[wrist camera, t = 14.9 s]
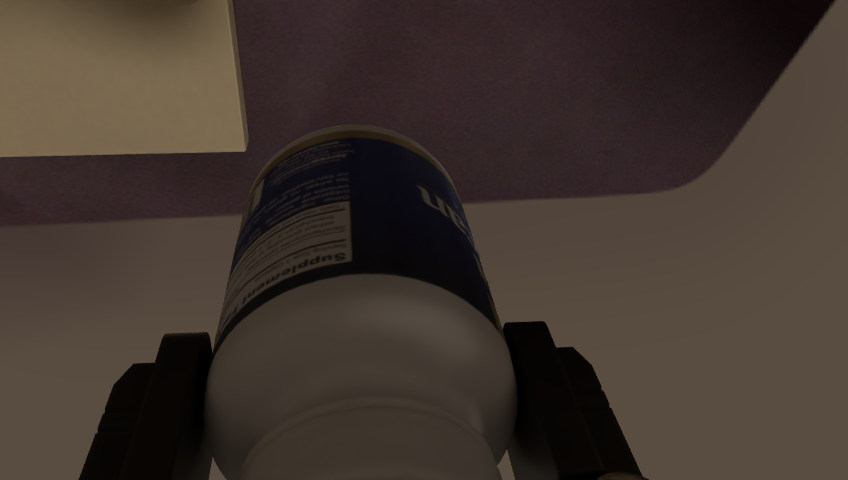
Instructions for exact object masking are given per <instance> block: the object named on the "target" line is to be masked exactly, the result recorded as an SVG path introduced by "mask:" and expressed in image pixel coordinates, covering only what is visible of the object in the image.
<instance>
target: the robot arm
mask: <svg viewBox="0 0 848 480" xmlns="http://www.w3.org/2000/svg"><path fill="white" fill-rule="evenodd" d="M503 333H504V336H505V339H506V342H507V345H508V347H509V351H510V355H511V360H512V364H513V368H514V372H515V375H516V381H517V389H518V412H517V419H516V423H515V428H514V432H513V435H512V438H511V440H510V443H509V446H508V448H507V450H508V454H509V458H510V462H511V465H512V469H513V473H514V476H515V480H649V479H647V478H645V477H643V476H642V474H641V472H640V470H639V468H638V466H637V463H636V461H635V459H634V457H633V455H632V452H631V450H630V448H629V446H628V444H627V441H626V439H625V437H624V435H623V433H622V430H621V428H620V426H619V424H618V422H617V419H616V417H615V415H614V413H613V411H612V408H610V407H609V402H608V400H607V398H606V395H605V393H604V391H602V390H601V384H600V382H599V380H598V378H597V376H596V373H595V371H594V369H593V367H592V365H591V364H590V363H589V362H588V361H587V360H586V359H585V358H584V357H583V356H582V355H581V354H579V353H578V352H577V351H576V350H575V349H574V348H573V347H560V348H556V346H555V344H554V341H553V339H552V337H551V334H550V332H549V329H548V327H547V325H546V323H545V322H543V321H538V322H537V321H535V322H508V323H505V324H504V327H503ZM211 358H212V348H211V341H210V337H209V334H208V333H207V332H200V333H172V334H165V335H164V336H163V338H162V341H161V344H160V348H159V351H158V354H157V357H156V360H155V363H137V364H133V365H132V366H131V367H130V368H129V369H128V370H127V371H126V372H125V373H124V375H123V376H122V377H121V378H120V379H119V380H118V381H117V382H116V383H115V384H114V386H113V388H112V391H111V393H110V396H109V399H108V402H107V404H106V407H105V413H104V414H103V415H102V418H101V421H100V423H99V426H98V433H96V434H95V437H94V439H93V442H92V445H91V448H90V451H89V453H88V456H87V458H86V461H85V464H84V467H83V469H82V472H81V475H80V477H79V480H209V474H210V468H211V463H212V457H213V456H212V454H211V451H210V449H209V446H208V442H207V438H206V434H205V428H204V418H203V410H204V398H205V391H206V382H207V376H208V370H209V366H210V362H211Z"/></svg>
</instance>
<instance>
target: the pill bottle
mask: <svg viewBox="0 0 848 480" xmlns="http://www.w3.org/2000/svg"><path fill="white" fill-rule="evenodd" d="M517 412H518V389H517V381H516V375H515V372H514V368H513V364H512V360H511V355H510V351H509V347H508V345H507V342H506V339H505V336H504V333H503V329H502V326H501V323H500V320H499V318H498V315H497V312H496V309H495V305H494V302H493V299H492V296H491V293H490V289H489V286H488V282H487V280H486V278H485V274H484V272H483V268H482V265H481V262H480V259H479V255H478V251H477V249H476V247H475V243H474V240H473V237H472V234H471V231H470V228H469V225H468V222H467V219H466V216H465V213H464V210H463V207H462V203H461V201H460V198H459V195H458V193H457V191H456V189H455V186H454V185H453V182H452V181H451V179H450V177H449V175H448V173H447V172H446V171H445V169H444V168H443V167H442V165H441V164H440V163H439V162H438V161H437V159H436V158H435V157H434V156H432V155H431V154H430V153H429V152H428V151H427V150H426V149H425V148H423V147H422V146H421V145H419V144H418V143H417V142H415V141H413V140H411V139H409V138H408V137H406V136H404V135H401V134H399V133H397V132H394V131H391V130H388V129H384V128H381V127H375V126H369V125H339V126H334V127H328V128H324V129H320V130H317V131H315V132H312V133H309V134H307V135H305V136H302V137H300V138H298V139H297V140H295V141H293V142H292V143H290V144H288V145H287V146H285V147H284V148H283V149H281V150H280V151H279V152H278V153H277V154H276V155H275V156H274V157H272V158H271V159H270V160H269V162H268V163H267V164H266V165H265V167H264V168H263V169H262V170H261V172H260V173H259V175H258V177H257V178H256V180H255V182H254V184H253V186H252V188H251V191H250V193H249V196H248V199H247V202H246V205H245V209H244V213H243V217H242V222H241V226H240V231H239V235H238V240H237V244H236V248H235V252H234V257H233V262H232V266H231V271H230V276H229V280H228V284H227V288H226V293H225V298H224V302H223V307H222V312H221V316H220V321H219V326H218V330H217V334H216V337H215V344H214V349H213V353H212V358H211V362H210V366H209V370H208V376H207V382H206V391H205V398H204V410H203V418H204V428H205V434H206V438H207V442H208V446H209V449H210V451H211V454H212V456H213V458H214V460H215V462H216V464H217V466H218V468H219V469H220V471H221V472H222V474H223V475H224V477H225V478H226V479H227V480H502V478H501V474H500V472H499V469H498V467H497V465H498V464H499V462H500V461H501V459H502V457H503V455H504V454H505V452H506V450H507V448H508V446H509V443H510V440H511V438H512V435H513V432H514V428H515V423H516V419H517Z"/></svg>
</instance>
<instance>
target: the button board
mask: <svg viewBox="0 0 848 480" xmlns="http://www.w3.org/2000/svg"><path fill="white" fill-rule="evenodd" d="M248 141H249V136H248V127H247V119H246V111H245V102H244V94H243V85H242V77H241V69H240V60H239V52H238V44H237V35H236V27H235V18H234V10H233V2H232V0H0V157H19V156H63V155H108V154H152V153H197V152H241V151H246V148H247V144H248Z"/></svg>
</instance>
